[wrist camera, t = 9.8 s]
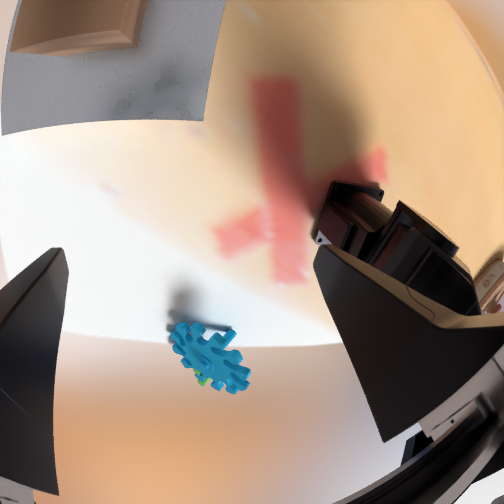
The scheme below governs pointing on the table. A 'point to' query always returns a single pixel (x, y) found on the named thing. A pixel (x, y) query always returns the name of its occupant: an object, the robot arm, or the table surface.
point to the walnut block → (77, 26)
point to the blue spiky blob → (210, 357)
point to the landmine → (490, 287)
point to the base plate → (118, 73)
